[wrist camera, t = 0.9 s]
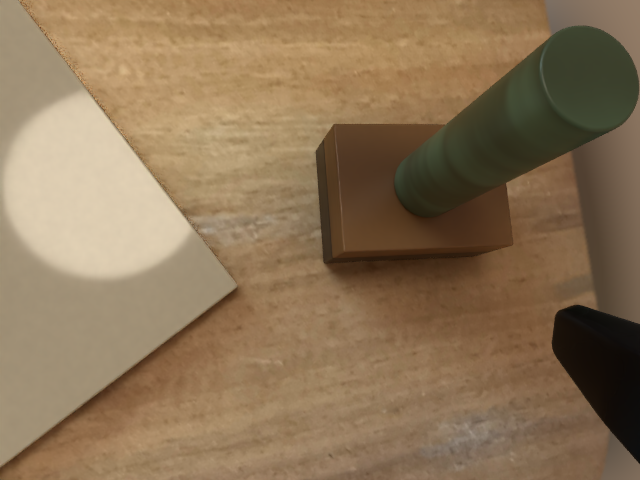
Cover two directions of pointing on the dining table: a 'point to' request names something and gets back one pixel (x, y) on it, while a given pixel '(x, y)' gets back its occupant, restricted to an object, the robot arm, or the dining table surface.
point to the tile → (79, 244)
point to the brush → (468, 155)
